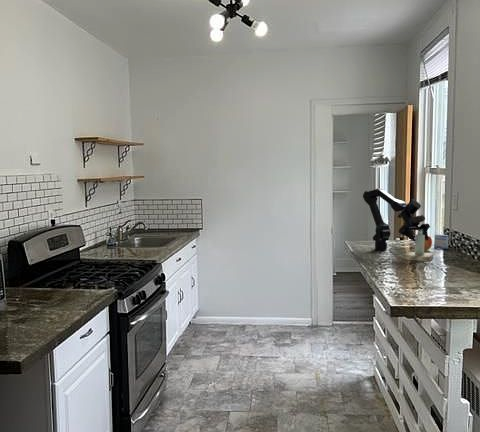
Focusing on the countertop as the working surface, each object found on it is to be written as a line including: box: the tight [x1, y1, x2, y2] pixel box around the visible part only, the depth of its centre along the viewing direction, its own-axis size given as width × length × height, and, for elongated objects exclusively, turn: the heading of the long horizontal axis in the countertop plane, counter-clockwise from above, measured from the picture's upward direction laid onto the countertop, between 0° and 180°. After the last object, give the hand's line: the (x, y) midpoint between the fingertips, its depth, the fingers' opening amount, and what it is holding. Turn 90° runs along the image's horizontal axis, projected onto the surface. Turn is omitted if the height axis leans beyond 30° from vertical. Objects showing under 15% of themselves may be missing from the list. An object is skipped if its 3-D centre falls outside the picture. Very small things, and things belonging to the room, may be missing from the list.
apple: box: [424, 235, 433, 252], centre depth 294 cm, size 10×10×10 cm
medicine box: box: [433, 234, 449, 250], centre depth 304 cm, size 8×4×9 cm, turn 62°
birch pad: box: [404, 251, 434, 262], centre depth 270 cm, size 13×13×2 cm
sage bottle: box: [414, 230, 425, 255], centre depth 270 cm, size 5×5×13 cm
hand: (421, 240), depth 268 cm, fingers open, 9 cm apart
